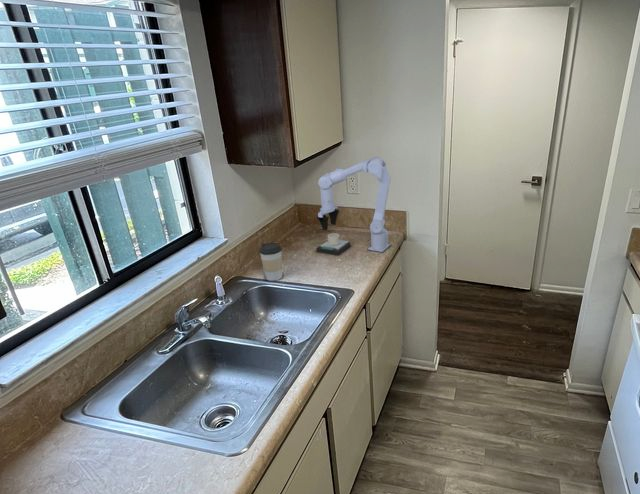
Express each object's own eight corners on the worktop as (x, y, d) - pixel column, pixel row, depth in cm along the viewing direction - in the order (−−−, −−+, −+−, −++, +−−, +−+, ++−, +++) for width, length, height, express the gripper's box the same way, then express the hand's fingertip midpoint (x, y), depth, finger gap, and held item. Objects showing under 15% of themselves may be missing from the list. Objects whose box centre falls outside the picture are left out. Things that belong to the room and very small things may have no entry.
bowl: (331, 240, 217) (331, 232, 215) (341, 242, 215) (341, 234, 213) (326, 244, 212) (325, 236, 210) (335, 246, 210) (335, 238, 209)
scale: (329, 242, 221) (329, 237, 220) (350, 246, 217) (350, 241, 216) (316, 251, 211) (316, 246, 210) (338, 255, 207) (337, 250, 206)
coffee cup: (288, 272, 190) (284, 241, 184) (280, 282, 182) (276, 249, 176) (268, 271, 191) (263, 240, 185) (259, 281, 183) (254, 248, 177)
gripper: (328, 195, 215) (330, 221, 220) (311, 203, 203) (314, 230, 208) (340, 196, 212) (342, 223, 218) (324, 205, 200) (326, 232, 206)
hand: (329, 226), depth 213 cm, fingers open, 7 cm apart
